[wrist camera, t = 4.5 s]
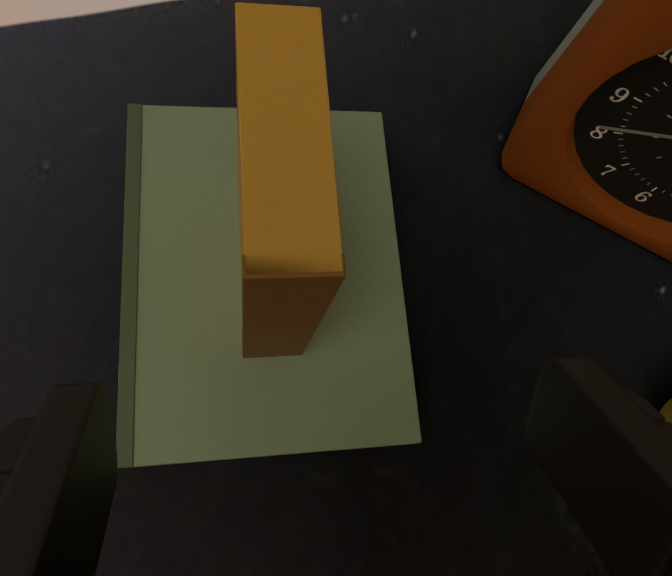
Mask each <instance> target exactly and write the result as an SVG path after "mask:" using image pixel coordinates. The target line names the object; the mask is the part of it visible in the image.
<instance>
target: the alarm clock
mask: <svg viewBox="0 0 672 576" xmlns="http://www.w3.org/2000/svg"><path fill="white" fill-rule="evenodd" d="M502 169H503V170H504V171H505V172H506V173H507V174H508V175H509V176H510V177H511V178H513V179H515V180H517V181H519V182H521V183H522V184H524V185H526V186H528V187H530V188H532V189H534V190H536V191H538V192H540V193H541V194H543V195H545V196H547V197H549V198H551V199H553V200H555V201H557V202H559V203H560V204H562V205H564V206H566V207H568V208H570V209H572V210H574V211H576V212H577V213H579V214H581V215H583V216H585V217H587V218H589V219H591V220H593V221H594V222H596V223H598V224H600V225H602V226H604V227H606V228H608V229H610V230H612V231H613V232H615V233H617V234H619V235H621V236H623V237H625V238H627V239H629V240H631V241H632V242H634V243H636V244H638V245H640V246H642V247H644V248H646V249H648V250H649V251H651V252H653V253H655V254H657V255H659V256H661V257H663V258H665V259H667V260H668V261H670V262H672V0H594V1H593V2H592V3H591V5H590V6H589V7H588V8H587V10H586V11H585V12H584V14H583V15H582V16H581V18H580V19H579V20H578V22H577V23H576V24H575V26H574V27H573V28H572V30H571V31H570V32H569V34H568V35H567V36H566V38H565V39H564V40H563V42H562V43H561V44H560V45H559V47H558V48H557V49H556V51H555V52H554V53H553V55H552V56H551V57H550V59H549V60H548V61H547V62H546V64H545V65H544V66H543V68H542V69H541V70H540V72H539V73H538V74H537V76H536V77H535V79H534V81H533V84H532V86H531V88H530V90H529V93H528V95H527V97H526V99H525V102H524V104H523V106H522V108H521V111H520V113H519V115H518V117H517V120H516V122H515V124H514V126H513V129H512V131H511V133H510V135H509V138H508V140H507V142H506V144H505V146H504V149H503V151H502Z"/></svg>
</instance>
